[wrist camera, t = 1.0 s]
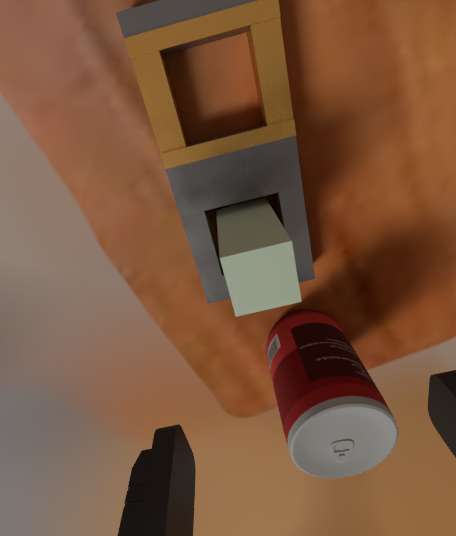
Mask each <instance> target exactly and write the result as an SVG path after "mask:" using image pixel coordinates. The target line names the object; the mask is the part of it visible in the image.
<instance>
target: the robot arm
mask: <svg viewBox="0 0 456 536" xmlns="http://www.w3.org/2000/svg"><path fill="white" fill-rule="evenodd" d="M428 412H429V416H430V419H431V421H432V423H433V425H434V427H435V428H436V430H437V431H438V433H439V434H440V436H441V437H442V439H443V440H444V442H445V443H446V444H447V446H448V447H449V449H450V450H451V452H452V453H453V455H454V456H455V457H456V370H454V371H449V372H444V373H439V374H434V375H431V377H430V383H429V397H428ZM194 497H195V460H194V456H193V452H192V450H191V448H190V445H189V443H188V441H187V439H186V436H185V434H184V432H183V430H182V427H181V426H180V425H174V426H169V427H164V428H159V429H157V430H156V431H155V434H154V439H153V445H152V449H148V450H143V451H141V453H140V455H139V457H138V459H137V460H136V462H135V464H134V466H133V468H132V471H131V476H130V481H129V485H128V491H127V495H126V499H125V507H124V509H123V513H122V518H121V523H120V528H119V532H118V536H193V521H194Z"/></svg>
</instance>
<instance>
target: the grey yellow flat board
mask: <svg viewBox="0 0 456 536" xmlns="http://www.w3.org/2000/svg"><path fill="white" fill-rule="evenodd" d="M116 14H117V17H118V20H119V23H120V26H121V30H122V33H123V36H124V41H125V44H126V47H127V50H128V54H129V57H130V59H131V61H132V64H133V67H134V71H135V74H136V77H137V80H138V83H139V86H140V90H141V93H142V96H143V99H144V102H145V105H146V108H147V112H148V115H149V118H150V121H151V124H152V127H153V131H154V134H155V137H156V140H157V143H158V146H159V149H160V153H161V157H162V161H163V164H164V167H165V169H166V172H167V175H168V178H169V181H170V184H171V187H172V190H173V194H174V197H175V200H176V203H177V206H178V209H179V213H180V216H181V219H182V222H183V225H184V228H185V231H186V235H187V238H188V241H189V244H190V247H191V250H192V254H193V257H194V260H195V263H196V266H197V269H198V272H199V276H200V279H201V282H202V285H203V288H204V291H205V295H206V298H207V301H208V303H213V302H217V301H221V300H226V299H230V298H231V297H230V294H229V290H228V286H227V283H226V279H225V276H224V272H223V268H222V265H221V262H220V258H219V254H218V251H217V247H216V244H215V240H214V236H213V233H212V229H211V226H210V222H209V218H208V215H207V211H206V210H210V209H214V208H218V207H222V206H226V205H230V204H234V203H238V202H242V201H246V200H250V199H254V198H258V197H262V196H266V195H270V194H274V193H275V198H276V203H277V209H278V215H279V221H280V222H281V224H282V225H283V227H284V229H285V230H286V232H287V234H288V235H289V237H290V239H291V240H292V245H293V251H294V257H295V264H296V270H297V276H298V282H303V281H307V280H312V279H315V276H314V269H313V261H312V254H311V246H310V239H309V231H308V224H307V216H306V209H305V201H304V194H303V186H302V179H301V171H300V164H299V156H298V148H297V141H296V128H295V121H294V118H293V111H292V103H291V96H290V88H289V81H288V73H287V66H286V58H285V51H284V43H283V36H282V28H281V21H280V16H281V15H280V7H279V0H158V1H155V2H151V3H148V4H144V5H141V6H138V7H134V8H131V9H127V10H124V11H120V12H117V13H116ZM245 32H247V37H248V42H249V48H250V54H251V60H252V65H253V71H254V77H255V83H256V88H257V94H258V100H259V106H260V111H261V117H262V123H263V124H261V125H257V126H254V127H250V128H246V129H242V130H238V131H234V132H231V133H227V134H223V135H219V136H215V137H212V138H208V139H204V140H200V141H196V142H192V143H189V144H188V143H187V139H186V135H185V132H184V128H183V125H182V121H181V117H180V114H179V110H178V107H177V103H176V99H175V96H174V92H173V89H172V85H171V81H170V78H169V74H168V70H167V67H166V63H165V60H164V56H163V55H166V54H170V53H173V52H177V51H180V50H184V49H188V48H191V47H195V46H198V45H202V44H206V43H209V42H213V41H216V40H220V39H223V38H227V37H231V36H234V35H238V34H241V33H245Z"/></svg>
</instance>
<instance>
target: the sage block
mask: <svg viewBox="0 0 456 536" xmlns="http://www.w3.org/2000/svg"><path fill="white" fill-rule="evenodd" d="M216 216H217V229H218V242H219V256H220V261H221V265H222V268H223V272H224V276H225V279H226V283H227V286H228V290H229V294H230V297H231V301H232V304H233V308H234V312H235V315H236V317H237V316H241V315H245V314H250V313H254V312H259V311H263V310H267V309H272V308H276V307H280V306H285V305H289V304H294V303H298V302H302V301H301V295H300V289H299V282H298V276H297V270H296V264H295V257H294V251H293V245H292V240H291V239H290V237H289V235H288V234H287V232H286V230H285V229H284V227H283V225H282V224H281V222H280V221H279V219H278V217H277V216H276V214H275V212H274V211H273V209H272V207H271V206H270V204H269V202H268V201H267V199H266V198H262V199H258V200H254V201H250V202H246V203H242V204H238V205H234V206H230V207H226V208H222V209H218V210H216Z"/></svg>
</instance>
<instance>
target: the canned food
mask: <svg viewBox="0 0 456 536" xmlns="http://www.w3.org/2000/svg"><path fill="white" fill-rule="evenodd" d="M266 354H267V359H268V363H269V368H270V372H271V377H272V381H273V385H274V390H275V394H276V399H277V403H278V407H279V412H280V416H281V420H282V425H283V430H284V433H285V436H286V441H287V445H288V449H289V452H290V454H291V457H292V460H293V462H294V463H295V465H296V466H297V467H298V468H300V469H301V470H302V471H304V472H306V473H307V474H310V475H313V476H316V477H321V478H343V477H349V476H353V475H357V474H359V473H362V472H365V471H367V470H369V469H371V468H373V467H374V466H376V465H377V464H379V463H380V462H382V461H383V460H384V459H385V458H386V457H387V456H388V455H389V454H390V453H391V451H392V450H393V448H394V446H395V444H396V442H397V438H398V427H397V424H396V421H395V420H394V417H393V415H392V413H391V411H390V409H389V408H388V406H387V404H386V403H385V400H384V399H383V397H382V395H381V394H380V392H379V390H378V389H377V387H376V385H375V384H374V382H373V380H372V379H371V377H370V376H369V374H368V372H367V370H366V369H365V367H364V365H363V364H362V362H361V360H360V359H359V357H358V355H357V354H356V352H355V350H354V349H353V347H352V345H351V344H350V342H349V340H348V339H347V337H346V335H345V334H344V332H343V330H342V329H341V327H340V326H339V325H338V323H337V322H335V321H334V320H333V319H332V318H330V317H329V316H327V315H325V314H323V313H321V312H317V311H311V310H305V311H298V312H295V313H292V314H290V315H287V316H285V317H284V318H283V319H281V320H280V321H279V322H278V323H277V324H276V325H275V326H274V327H273V329H272V330H271V332H270V334H269V336H268V341H267V346H266Z"/></svg>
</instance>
